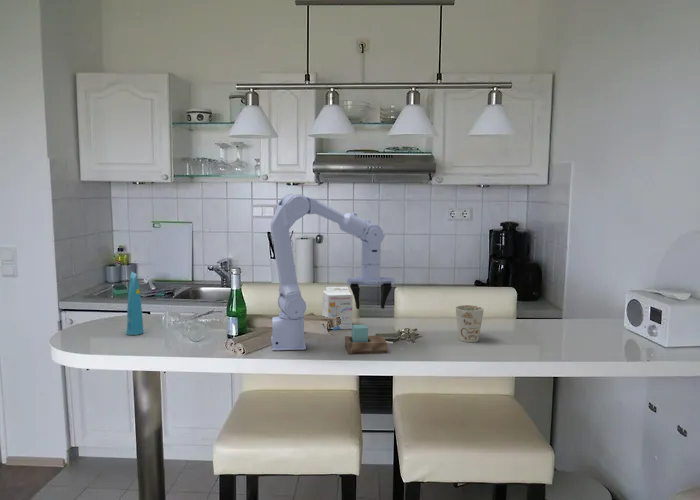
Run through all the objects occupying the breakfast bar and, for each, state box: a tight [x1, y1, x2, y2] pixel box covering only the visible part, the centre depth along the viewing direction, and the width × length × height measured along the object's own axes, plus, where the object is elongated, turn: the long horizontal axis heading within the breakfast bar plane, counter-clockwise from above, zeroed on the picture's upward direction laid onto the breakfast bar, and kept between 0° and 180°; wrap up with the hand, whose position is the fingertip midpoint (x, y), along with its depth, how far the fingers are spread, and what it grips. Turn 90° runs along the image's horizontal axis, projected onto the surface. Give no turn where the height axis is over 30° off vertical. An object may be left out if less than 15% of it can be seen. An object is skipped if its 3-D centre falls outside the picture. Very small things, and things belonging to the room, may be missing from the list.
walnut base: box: [344, 335, 388, 355], centre depth 151 cm, size 11×8×3 cm
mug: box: [455, 304, 484, 343], centre depth 164 cm, size 8×13×10 cm, turn 152°
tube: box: [126, 271, 144, 336], centre depth 163 cm, size 7×5×19 cm, turn 39°
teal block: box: [351, 324, 369, 343], centre depth 150 cm, size 4×4×6 cm
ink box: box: [321, 286, 354, 331], centre depth 176 cm, size 9×8×13 cm
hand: (370, 308), depth 160 cm, fingers open, 7 cm apart
